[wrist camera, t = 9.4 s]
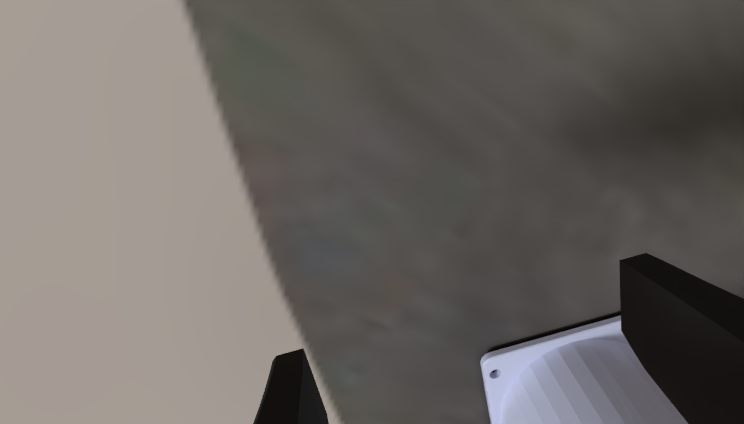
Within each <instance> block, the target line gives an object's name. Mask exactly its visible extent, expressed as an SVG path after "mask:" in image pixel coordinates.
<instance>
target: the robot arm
mask: <svg viewBox="0 0 744 424" xmlns="http://www.w3.org/2000/svg"><path fill="white" fill-rule="evenodd" d="M620 298H621V315H620V316H616V317H613V318H609V319H606V320H602V321H599V322H595V323H592V324H588V325H584V326H581V327H577V328H574V329H570V330H567V331H563V332H560V333H556V334H552V335H549V336H545V337H542V338H538V339H535V340H531V341H528V342H524V343H520V344H517V345H513V346H510V347H506V348H503V349H499V350H496V351H492V352H489V353H487V354H485V355H484V356H483V357H482V359H481V369H482V375H483V381H484V387H485V392H486V398H487V404H488V410H489V415H490V421H491V424H744V299H743V298H741V297H738V296H736V295H734V294H732V293H729V292H727V291H725V290H723V289H721V288H719V287H716V286H714V285H712V284H710V283H708V282H706V281H704V280H702V279H700V278H698V277H696V276H693V275H691V274H689V273H687V272H685V271H683V270H681V269H679V268H677V267H675V266H673V265H671V264H669V263H667V262H665V261H662V260H660V259H658V258H656V257H654V256H652V255H649V254H647V253H645V254H641V255H637V256H634V257H630V258H627V259H623V260H620ZM493 370H496V371H495V372H492V371H493ZM253 424H328V418H327V413H326V410H325V407H324V405H323V402H322V399H321V397H320V393H319V391H318V388H317V385H316V382H315V380H314V377H313V374H312V371H311V368H310V366H309V363H308V360H307V357H306V354H305V352H304V349H300V350H296V351H292V352H289V353H285V354H282V355H278V356H276V357H275V359H274V360H273V362H272V366H271V370H270V374H269V378H268V381H267V385H266V388H265V392H264V394H263V398H262V401H261V404H260V407H259V410H258V412H257V415H256V418H255V421H254V423H253Z"/></svg>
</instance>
